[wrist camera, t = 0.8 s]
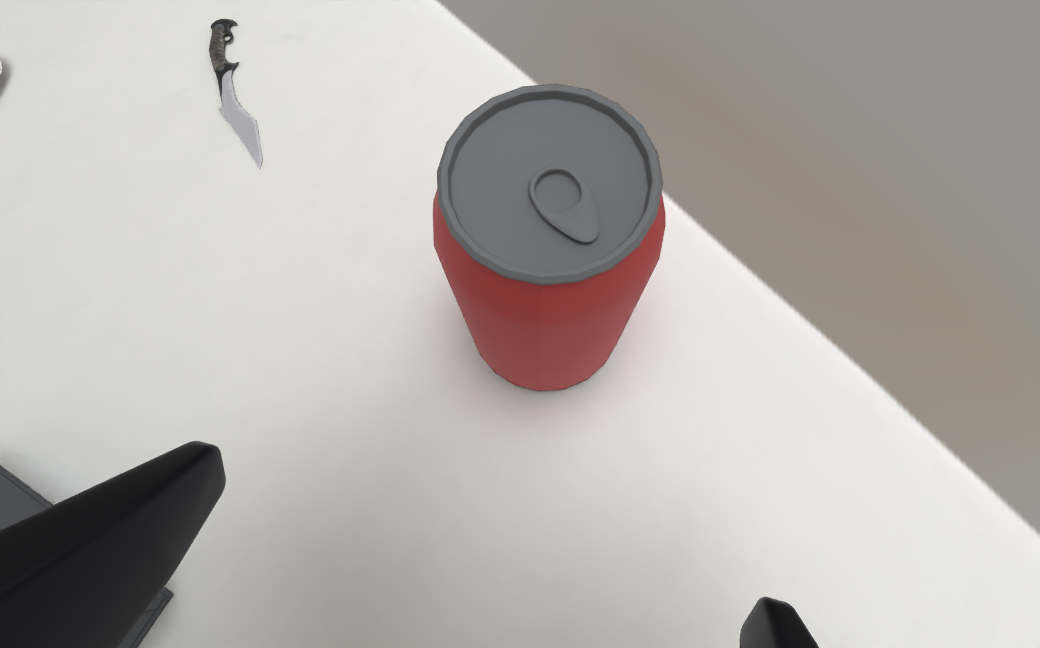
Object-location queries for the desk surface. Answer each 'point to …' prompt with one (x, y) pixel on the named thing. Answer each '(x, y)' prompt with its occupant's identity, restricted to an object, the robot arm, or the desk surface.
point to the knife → (232, 91)
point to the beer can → (548, 229)
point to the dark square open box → (13, 501)
